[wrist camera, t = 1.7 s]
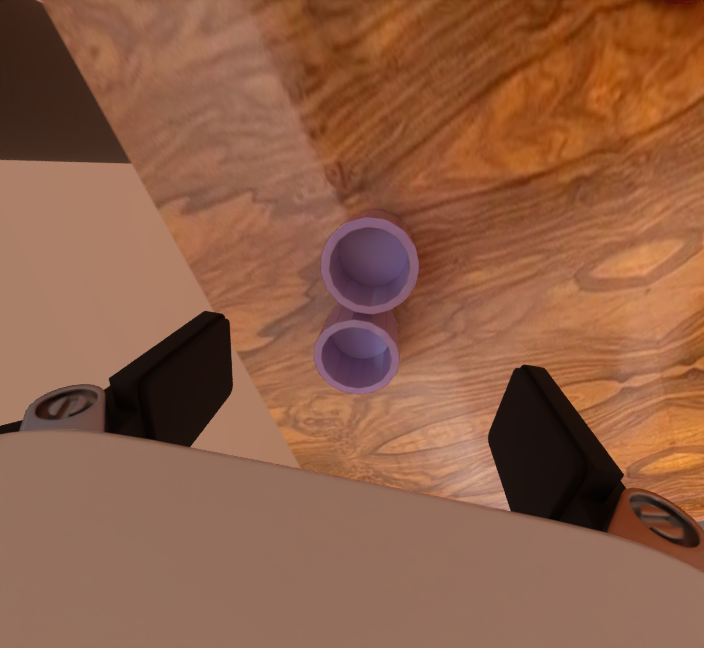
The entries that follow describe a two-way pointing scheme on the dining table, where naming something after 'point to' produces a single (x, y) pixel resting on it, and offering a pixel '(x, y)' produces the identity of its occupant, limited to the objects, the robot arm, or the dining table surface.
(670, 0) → the soda can
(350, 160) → the dining table surface
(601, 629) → the robot arm
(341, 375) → the purple cup
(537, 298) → the dining table surface
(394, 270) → the cup
